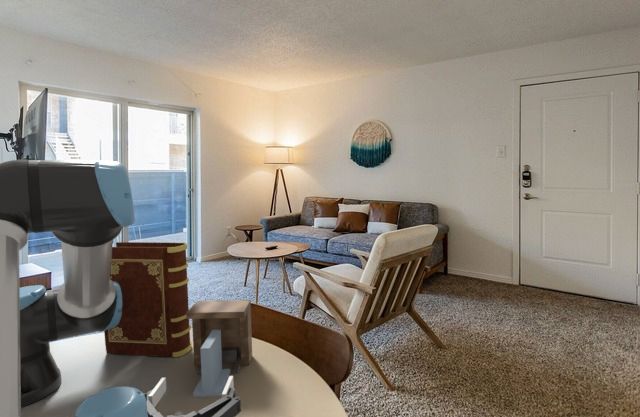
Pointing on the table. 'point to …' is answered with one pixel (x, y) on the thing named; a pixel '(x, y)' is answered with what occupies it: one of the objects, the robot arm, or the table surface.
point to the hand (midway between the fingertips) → (198, 382)
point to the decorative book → (150, 300)
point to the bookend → (212, 367)
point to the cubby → (223, 329)
